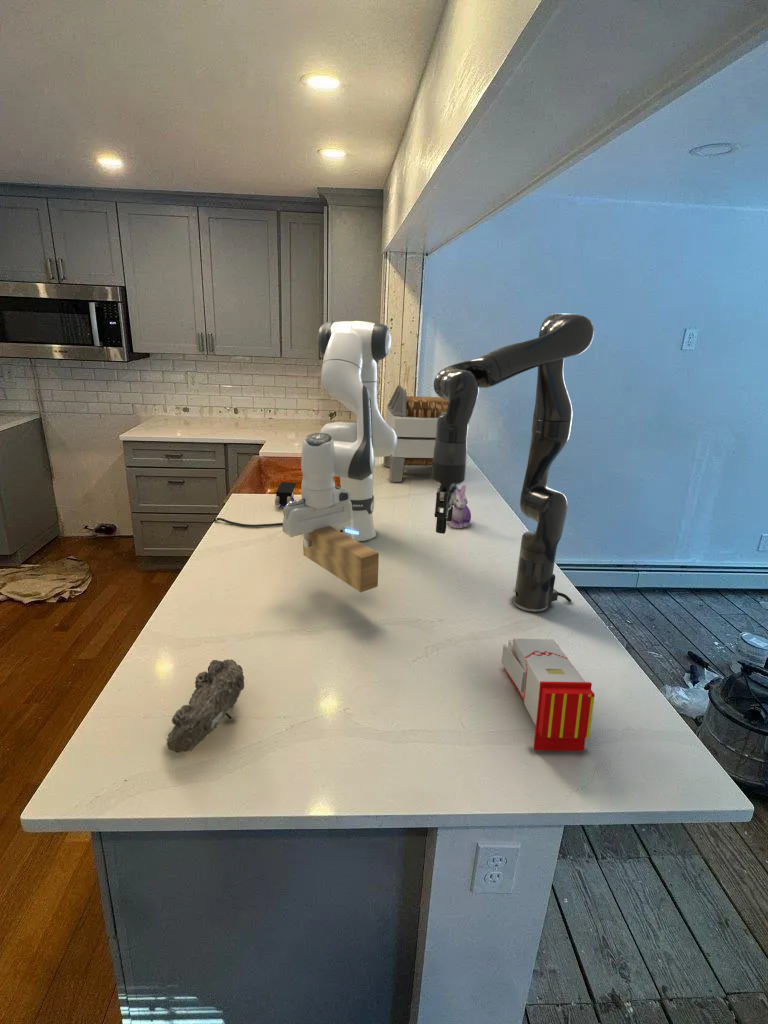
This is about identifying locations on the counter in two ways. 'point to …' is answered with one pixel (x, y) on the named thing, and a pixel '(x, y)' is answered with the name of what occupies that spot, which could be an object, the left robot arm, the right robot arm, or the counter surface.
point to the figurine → (460, 510)
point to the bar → (344, 557)
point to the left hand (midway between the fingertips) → (318, 543)
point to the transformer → (412, 430)
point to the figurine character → (284, 494)
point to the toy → (550, 693)
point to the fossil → (206, 705)
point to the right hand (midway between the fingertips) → (444, 526)
